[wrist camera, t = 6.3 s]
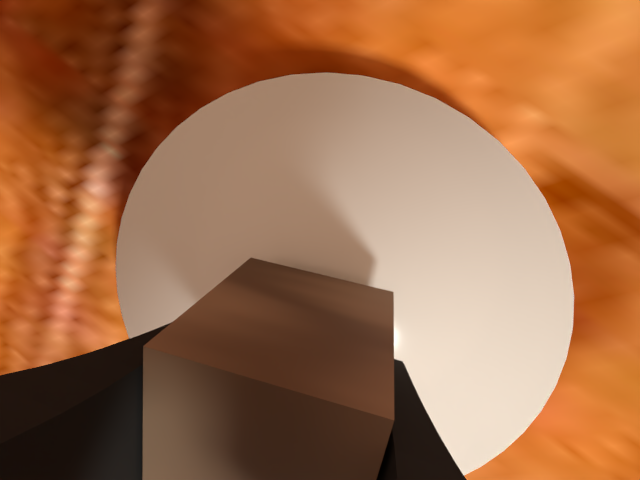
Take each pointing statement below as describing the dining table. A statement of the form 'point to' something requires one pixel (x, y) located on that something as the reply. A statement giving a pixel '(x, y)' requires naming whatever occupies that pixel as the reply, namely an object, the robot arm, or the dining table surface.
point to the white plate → (367, 236)
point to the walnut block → (272, 381)
